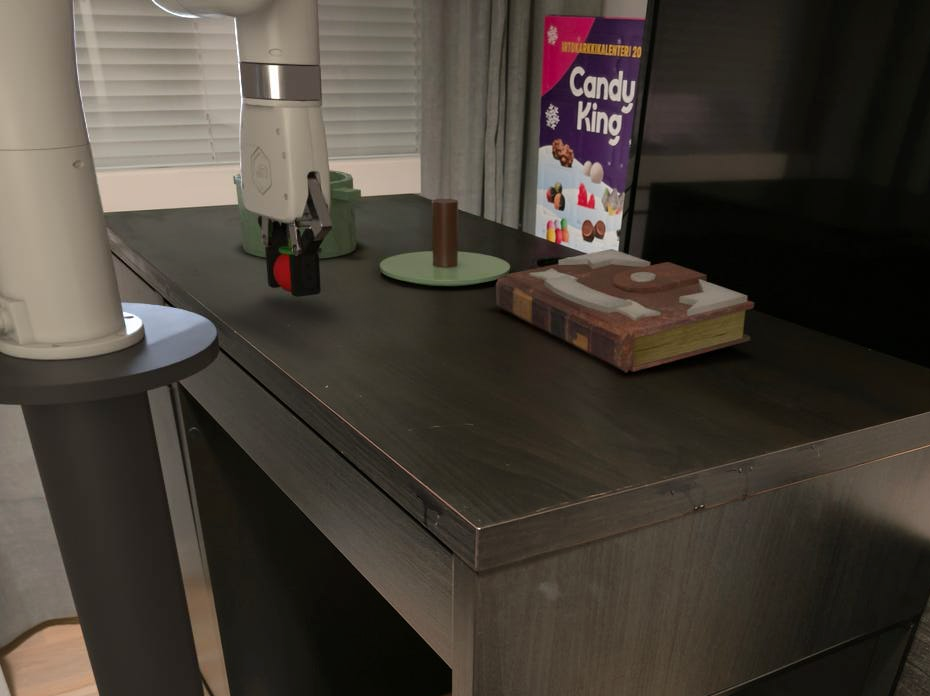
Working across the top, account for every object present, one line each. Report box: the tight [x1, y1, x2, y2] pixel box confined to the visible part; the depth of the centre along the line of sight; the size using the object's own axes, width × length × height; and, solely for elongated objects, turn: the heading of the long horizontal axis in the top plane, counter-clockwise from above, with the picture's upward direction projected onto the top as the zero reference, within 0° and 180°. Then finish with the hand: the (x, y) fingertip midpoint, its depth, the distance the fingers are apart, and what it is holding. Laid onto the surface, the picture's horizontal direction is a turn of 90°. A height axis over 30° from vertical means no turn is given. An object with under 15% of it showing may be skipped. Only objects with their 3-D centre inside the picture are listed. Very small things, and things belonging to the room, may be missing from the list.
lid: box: [379, 198, 511, 287], centre depth 108 cm, size 16×16×8 cm
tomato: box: [274, 237, 293, 293], centre depth 95 cm, size 4×4×5 cm
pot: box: [232, 169, 362, 260], centre depth 119 cm, size 15×20×8 cm
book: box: [495, 248, 755, 374], centre depth 90 cm, size 23×16×5 cm
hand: (294, 288), depth 96 cm, fingers closed on tomato, 3 cm apart
